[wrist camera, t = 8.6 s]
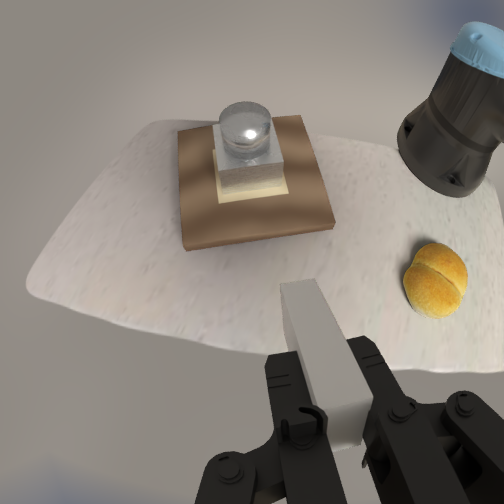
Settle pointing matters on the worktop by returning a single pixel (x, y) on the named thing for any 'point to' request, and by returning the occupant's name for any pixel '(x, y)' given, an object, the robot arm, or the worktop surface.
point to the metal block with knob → (247, 149)
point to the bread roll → (435, 281)
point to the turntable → (250, 192)
